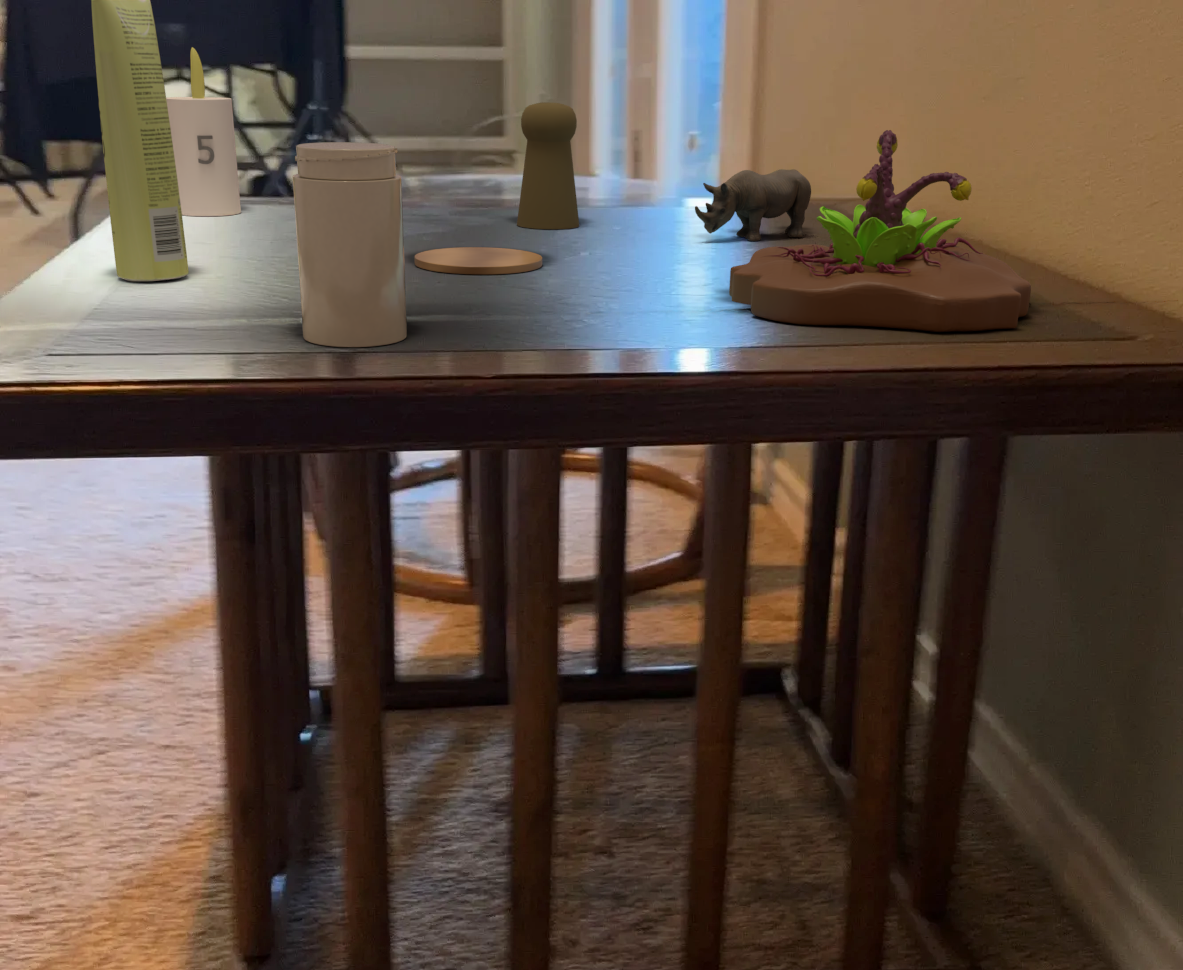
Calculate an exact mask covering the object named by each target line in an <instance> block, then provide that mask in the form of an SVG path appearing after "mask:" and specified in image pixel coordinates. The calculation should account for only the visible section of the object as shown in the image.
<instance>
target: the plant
mask: <svg viewBox="0 0 1183 970" xmlns="http://www.w3.org/2000/svg"><path fill="white" fill-rule="evenodd" d="M898 143H899V142H898V137H897V135H896V134H895V133H894V132H893V130H891V129H889V130H888V129H886V130H884V131H883V132H882V134H880V135H879V137H878V139H877V141H876V150H877V153H878V154H879V155H880V156H879V157H878V163H879V164H878V163H874V165H872V167H871V169H870V170H869V172H867V173H866V174H865V175H864V176H863V177H862V178H861V179H859V181H858V183H857V185H856V195H857V196H858V197H859V198H860V199H861V200H862V201H863V202H865V201H866V200H867V201H866V203H865V206H864V205H863V204H857V205H856V206H855V208H853V209H854V210H853V219H852V220H851V219H850V218H849V217H847V216H846V215H845V214H843V213H841V212H839V211H837V210H834V209H830V208H827V207H825V206H823V205H822V206H820V207H819V212H820V213H821V214H822V215H823V216H821V215H818V216H816V220H817V221H818V222H819V223H820V224H821V227H822V228H824V230H826V231H827V233H828V234H829V239H830V240H831V242H832V243H830V244H829V246H827V245H823V244H816V242H814V244H812V243H811V244H808V243H807V244H797V245H789V246H778V245H777V246H768V247H764V248H760V249H757V250H756V251H754V252H753V253H752V256H751V257H750V260H749V262H747V263H744V264H740V265H735V266H732V267H730V269H729V270H730V272H729V287H728V289H729V291H728V293H729V294H728V295H729V296H730V297H731V302H734V303H738V304H743V305H748V306H750V307H747V308H746V307H745V308H743V309H744V310H750V313H751V314H752V315H753V316H755V317H757V318H761V319H765V320H770V321H775V322H778V323H779V322H780V323H786V324H793V325H803V326H804V325H805V326H853V327H871V328H872V327H873V328H887V329H899V330H901V329H902V330H914V331H924V332H932V333H933V332H934V333H949V332H982V331H992V330H1009V329H1011V330H1012V329H1016V328H1018V322H1019V318H1023V317H1026V316H1027V315H1028V312H1029V307H1030V299H1031V294H1032V286H1031V285H1032V284H1031V283H1030V282H1029V281H1028V280H1027V279H1024V278H1022V277H1021V276H1020V275H1018V274H1017V272H1015V270H1014V269H1013V268H1012V267H1011V266H1010V265H1009V264H1008V263H1006V262H1005V261H1003V260H1000V259H998V258H997V257H994V256H991V255H988V254H985V253H984V252H979V251H978V250H976V249H975V248H974V247H973V245H972V244H971V243H970V242H969V241H968V240H966V239H965V238H963V237H960V236H959V237H955V239H954V241H953V242H947V239H946V238H941V237H942V236H943V235H944V233H946V232H947V231H949V230H951V229H954V228H955V226H956V225H957V224H959V223H960V222H961V221H962V217H960V216H958V217H957V218H951V219H948V220H943V221H941V222H940V223H939V222H938V223H937V224H936V225H934V226H932V225H933V224H935V223H936V222H937V219H938V217H937V216H933V217H931V218H930V219H927V220H926V221H925V219H926V217H927V214H928V211H927V209H926V208H920V209H918V210H915V211H914V212H912V211H911V210H910V209H909V208H908V207H907V204H908V203H909V202H910V201H911V200H912V199H913V198H914V197H915V196H916V195H918V193H920V192H921V191H922V190H924V189H925V188H926V187H928V186H931V185H932V184H935V183H941V182H946V183H948V184H949V190H950V194H951V196H952V198H953V199H954V200H955V201H960V202H963V201H964V200H965V201H969V200H970V199H969V197H970V196H971V194H972V184H971V183H970V181H969V180H968V178H966V177H965V176H963V175H960V174H958V173H957V172H949V171H944V172H932V173H929V174H926V175H922V176H921V177H920V178H919V179H917V180H915V182H912V183H911V185H909V186H908V187H907V188H905V189H904V190H902V191H900V192H899V193H897V194H895V193H896V192H895V185H894V184H893V175H894V173H893V172H894V170H893V157H892V156H893V154H895V153H896V152H897V149H898V145H899V144H898ZM930 226H932V227H931V228H930V229H929V230H927V229H928V228H929V227H930ZM926 230H927V231H926ZM940 238H941V239H940ZM958 243H961V244H964V245H966V246H967V247H969V248H970V249H971V250H972V251H970V250H969V249H966V248H964V247H962V246H957V245H958Z"/></svg>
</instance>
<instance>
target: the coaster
mask: <svg viewBox="0 0 1183 970" xmlns="http://www.w3.org/2000/svg"><path fill="white" fill-rule="evenodd" d="M414 265H415V266H416V267H417V268H420V269H422V270H426V271H430V272H436V273H444V274H454V275H455V274H456V275H476V276H477V275H478V276H479V275H480V276H482V275H487V276H489V275H490V276H491V275H508V274H509V275H511V274H518V273H525V272H531V271H535V270H538V269H540V268H541V267H543V257H542V255H540V254H539V253H536V252H533V251H529V250H523V249H515V248H504V247H489V246H488V247H487V246H485V247H484V246H483V247H481V246H467V247H466V246H464V247H463V246H462V247H445V248H435V249H428V250H424V251H421V252H418V253H416V254H414Z"/></svg>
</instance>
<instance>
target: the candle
mask: <svg viewBox="0 0 1183 970" xmlns="http://www.w3.org/2000/svg"><path fill="white" fill-rule="evenodd" d="M197 51H198V50H196V48H194V47H193V46H191V48H190V56H189V57H190V89H191V90H190V91H191V96H166V101H167V108H168V115H169V122H170V129H171V136H172V143H173V151H174V158H175V165H176V173H177V180H178V188H179V196H180V204H181V211H182V216H185V217H186V216H187V217H188V216H189V217H223V216H234V215H239V214H241V213H242V207H241V197H240V184H239V183H240V182H239V172H238V159H237V149H236V146H237V145H236V135H235V123H234V112H233V100H232V97H231V98H230V97H217V96H215V97H214V96H206V85H205V74H204V68H203V65H202V61H201V58H200V55H199V53H198V52H197Z"/></svg>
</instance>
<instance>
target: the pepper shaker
mask: <svg viewBox="0 0 1183 970" xmlns="http://www.w3.org/2000/svg"><path fill="white" fill-rule="evenodd" d="M577 120H578V119H577V115H576V113H575V111H574V109H573V108H572V107H571V106H570V105H567V104H564V103H560V102H547V101H545V102H543V101H541V102H536V103H531V104H529V105H528V106H526V107H524V110H523V112H522V114H521V118H520V127H521V131H522V134H523V136H524V138H525V139H526V147H525V155H524V162H523V164H524V166H523V171H522V180H521V187H520V188H521V189H520V195H519V203H518V211H517V220H516V226H517V227H521V228H525V229H526V228H527V229H535V230H567V229H568V230H569V229H576V228H579V227H580V218H579V210H578V200H577V191H576V182H575V172H574V163H573V162H574V161H573V153H572V143H571V141H572V139H573V137H575V134H576V131H577V125H578V123H577V122H578V121H577Z"/></svg>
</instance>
